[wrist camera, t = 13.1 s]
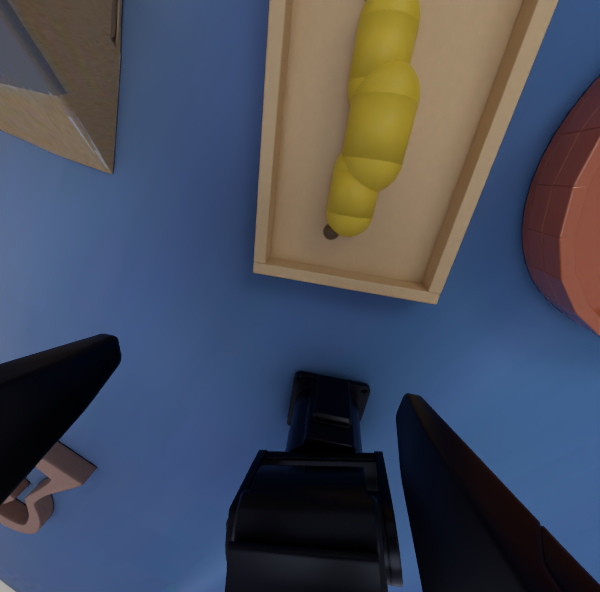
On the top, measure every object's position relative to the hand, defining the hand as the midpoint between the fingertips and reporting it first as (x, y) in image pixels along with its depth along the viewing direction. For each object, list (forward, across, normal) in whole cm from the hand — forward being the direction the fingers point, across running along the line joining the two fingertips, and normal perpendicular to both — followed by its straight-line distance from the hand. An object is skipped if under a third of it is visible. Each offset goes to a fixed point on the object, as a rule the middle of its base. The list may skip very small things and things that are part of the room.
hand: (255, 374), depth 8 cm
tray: (+12, -3, -8) cm, 15 cm away
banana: (+12, -3, -8) cm, 14 cm away
